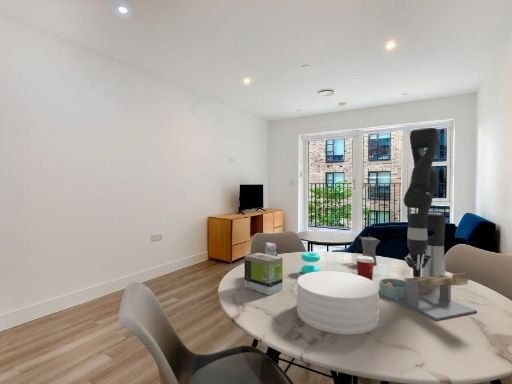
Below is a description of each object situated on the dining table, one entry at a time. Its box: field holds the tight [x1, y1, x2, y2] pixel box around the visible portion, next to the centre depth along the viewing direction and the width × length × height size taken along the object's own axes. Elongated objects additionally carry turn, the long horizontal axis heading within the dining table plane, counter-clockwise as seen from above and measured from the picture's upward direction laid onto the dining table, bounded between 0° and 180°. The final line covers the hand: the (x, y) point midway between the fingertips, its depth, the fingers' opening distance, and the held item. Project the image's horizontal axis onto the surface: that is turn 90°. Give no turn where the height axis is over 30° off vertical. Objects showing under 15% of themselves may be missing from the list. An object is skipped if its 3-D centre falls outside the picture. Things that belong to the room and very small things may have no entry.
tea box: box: [243, 252, 284, 296], centre depth 125 cm, size 15×10×15 cm
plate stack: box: [296, 270, 380, 335], centre depth 100 cm, size 28×28×12 cm
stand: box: [396, 274, 478, 322], centre depth 106 cm, size 17×20×10 cm
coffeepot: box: [354, 233, 381, 267], centre depth 167 cm, size 15×9×18 cm, turn 44°
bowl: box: [378, 277, 408, 300], centre depth 119 cm, size 12×12×5 cm
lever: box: [403, 272, 470, 286], centre depth 108 cm, size 30×16×4 cm, turn 18°
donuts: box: [300, 252, 321, 275], centre depth 148 cm, size 10×10×10 cm
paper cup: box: [355, 255, 374, 281], centre depth 125 cm, size 8×8×14 cm
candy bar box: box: [264, 241, 278, 256], centre depth 143 cm, size 11×5×16 cm, turn 5°
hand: (416, 277), depth 120 cm, fingers closed
